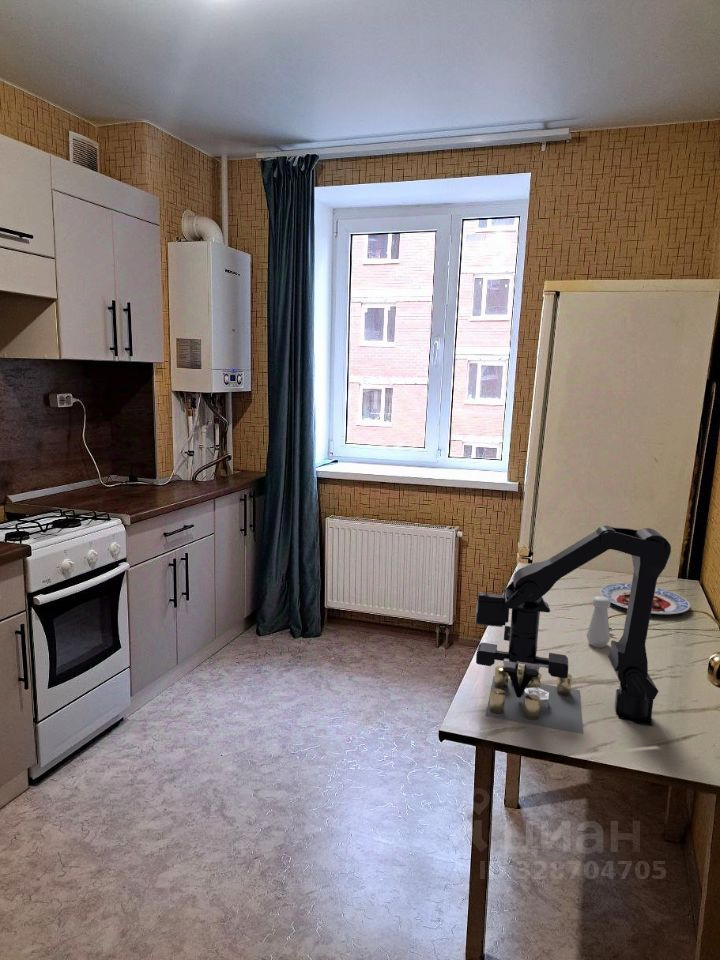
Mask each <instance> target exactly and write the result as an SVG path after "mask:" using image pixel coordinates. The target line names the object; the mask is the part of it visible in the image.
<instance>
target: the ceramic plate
mask: <svg viewBox="0 0 720 960" xmlns="http://www.w3.org/2000/svg"><path fill="white" fill-rule="evenodd" d="M631 586H632V583H613V584H607V585H606V586H603V587H602V588H601V589H600V591H599V592H600V596H602V597H606V598H608V599H609V600H610V604H611V603H612V604H614V605H615V606H618V607H621V608H624V609H626V610H627V609H628V603H629V597H630V592H631ZM690 608H691V604H690V602H689V601H688V600H687V599H686V598H684V597H682V595H679V594H678V593H675V592H672V591H669V590H665V589H663V588H659V587H656V588H655V593H654V599H653V604H652V610H651V614H654V615H678V614H682V613H685V612H687V611H689V609H690Z"/></svg>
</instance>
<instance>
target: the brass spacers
mask: <svg viewBox="0 0 720 960" xmlns="http://www.w3.org/2000/svg"><path fill="white" fill-rule="evenodd" d="M503 666H504V665H497V666H495V670H494V676H495V681H494V686H495V687H497V688H500V689H492V690H491V689H490V691H491V695H490V694H489V696H490V711H491V712H492V713H495V714H502V713H504V707H505V692H504V691H503V690H501V689H506V688H507V687H508V678H510V677H509V675H508V673H507V672H504V671H503ZM523 671H524V665H523V664H519V687H520V684H521V679H522V675H523ZM572 683H573V676H572V674H570V673H568V678H559V677H557V683H556V686H557V693H558V694H559V695H561V696H570V695H571V689H572ZM541 684H542V673H540V672H539V675H538V677H533V678H532V679H531V681H530V682H529V683H528V685H527V686H526V688H534V687H538V688H540V687H541ZM511 685H512V686H513V683H512V681H511ZM539 711H540V698H539V697H538V696H536V695H526V697H525V708H524V717H525V718H527V719H529V720H538V719H539Z"/></svg>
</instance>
